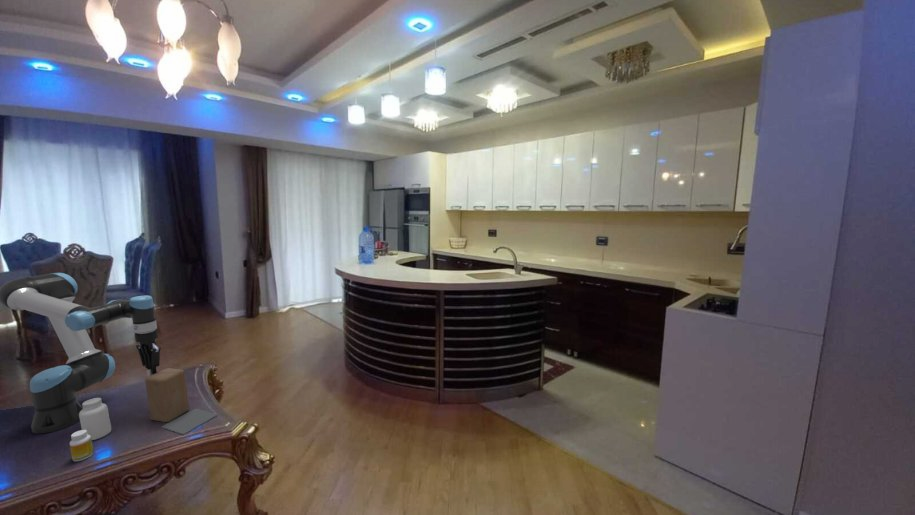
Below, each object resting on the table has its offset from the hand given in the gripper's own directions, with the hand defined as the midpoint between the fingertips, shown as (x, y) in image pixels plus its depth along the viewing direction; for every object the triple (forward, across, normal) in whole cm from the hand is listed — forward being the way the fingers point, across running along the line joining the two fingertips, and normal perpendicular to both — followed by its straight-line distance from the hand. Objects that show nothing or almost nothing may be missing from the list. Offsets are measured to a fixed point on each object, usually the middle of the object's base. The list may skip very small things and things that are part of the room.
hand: (153, 381), depth 155 cm
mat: (+15, +22, 0) cm, 27 cm away
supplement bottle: (+15, +7, -28) cm, 33 cm away
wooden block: (+15, +9, 0) cm, 17 cm away
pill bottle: (+15, -4, -19) cm, 24 cm away
